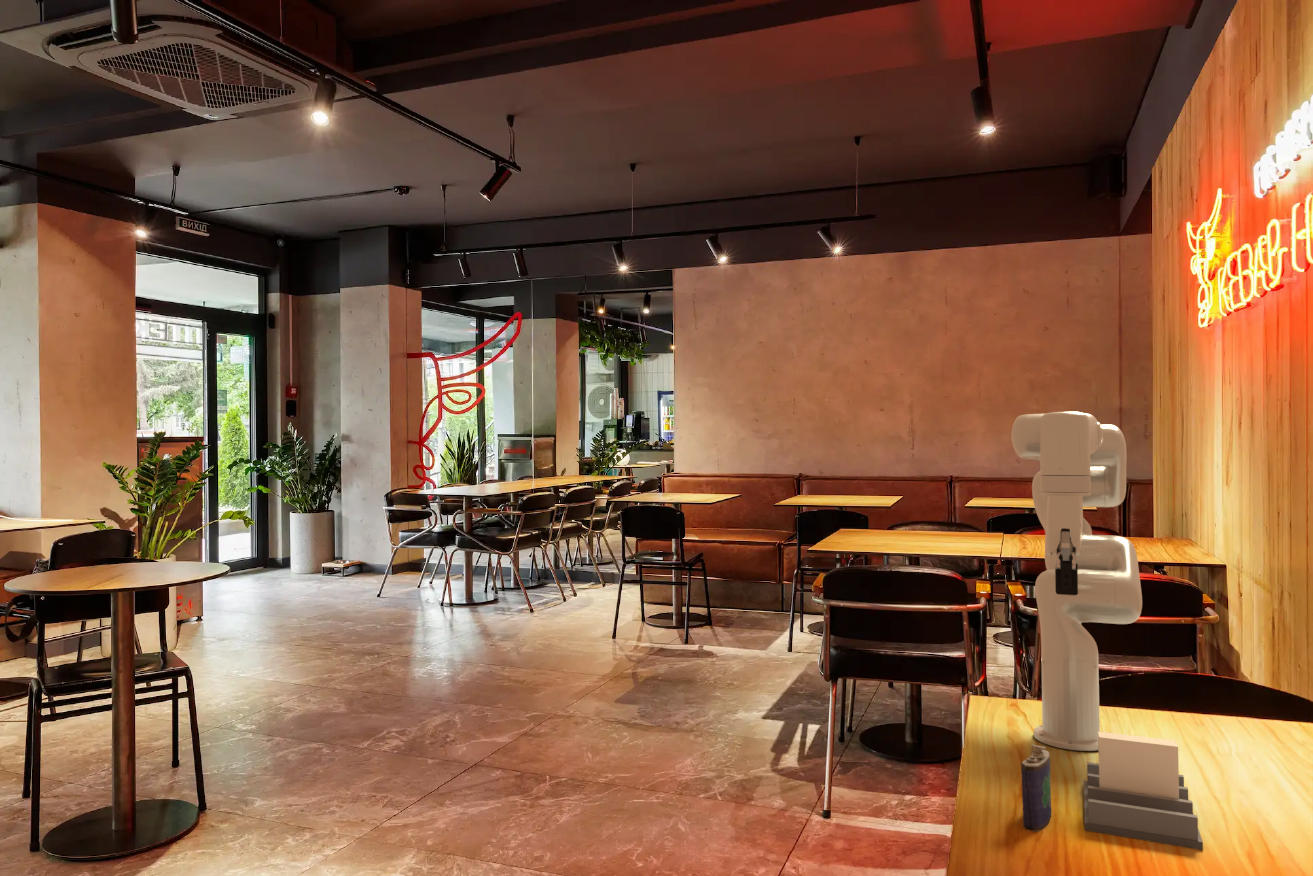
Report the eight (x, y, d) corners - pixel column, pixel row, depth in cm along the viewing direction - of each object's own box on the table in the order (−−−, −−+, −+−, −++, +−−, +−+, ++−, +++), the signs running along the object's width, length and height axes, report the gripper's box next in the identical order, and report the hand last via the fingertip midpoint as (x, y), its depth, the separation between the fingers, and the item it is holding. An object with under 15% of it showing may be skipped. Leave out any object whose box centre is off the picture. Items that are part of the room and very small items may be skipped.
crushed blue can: (1035, 807, 128) (1034, 735, 128) (1056, 812, 126) (1055, 738, 126) (1019, 829, 120) (1018, 752, 121) (1042, 834, 119) (1041, 756, 119)
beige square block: (1099, 798, 128) (1098, 731, 129) (1177, 810, 124) (1175, 740, 124) (1100, 806, 126) (1098, 737, 126) (1179, 818, 121) (1178, 746, 122)
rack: (1083, 786, 136) (1083, 761, 136) (1187, 801, 130) (1186, 775, 130) (1084, 830, 120) (1084, 801, 120) (1202, 850, 114) (1202, 819, 114)
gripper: (1042, 485, 151) (1043, 582, 151) (1038, 487, 136) (1040, 596, 135) (1090, 485, 148) (1091, 585, 147) (1091, 488, 132) (1093, 599, 132)
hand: (1067, 590), depth 141 cm, fingers open, 9 cm apart
